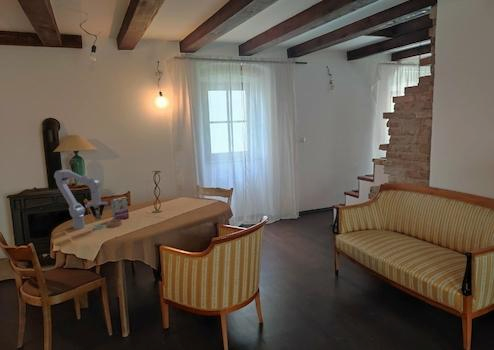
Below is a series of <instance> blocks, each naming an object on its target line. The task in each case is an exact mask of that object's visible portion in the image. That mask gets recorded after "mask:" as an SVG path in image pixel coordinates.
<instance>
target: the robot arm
mask: <svg viewBox="0 0 494 350" xmlns="http://www.w3.org/2000/svg"><path fill="white" fill-rule="evenodd" d="M53 178H54V179H55V182H56V186H57V188H58V189H59V190H60V192H61V194H62V196H63V197H64V199H65V200H66V202H67V204H68V206H69V207H68V211H69V215H70V217H71V218H72V223H73V225H72V226H73V229H74V230H81V229H85V227H86V225H85V212H86V208H87V209H88V208H89V209H90V211H91V213H92V216H93V218H95V210H96V209H95V207H99V210H100V211H101V217H102V216H103V212H104V208H105V206H107V205H109V204H108V201H101V192H100V191H101V189H100V187H101V185H102V184H101V183H102V182H101V181H100V180H99V179H98V178H97V179H94V177H92V178H91V177H89V176H88V175H80V174H78V173H76V172H74V171H72V170H71V169H68V168H65V169H60V170H56V171H55V172H54V175H53ZM70 178H71V179H74V180H77V181H79V183H80V184H82V185H85V186H87V187H88V188H89V190H90V195H91V197H90V198H91V203H88V204H84V205H85V207H84V206H83V205H82V204H81V203H80V202H78V201H77V200H76V198H75V196H74V194H73V193H72V191H71V190H70V187H69V186H68V184H67V181H68V180H69V179H70Z"/></svg>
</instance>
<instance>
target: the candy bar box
mask: <svg viewBox="0 0 494 350" xmlns="http://www.w3.org/2000/svg"><path fill="white" fill-rule="evenodd" d="M110 204H111V213H112V220H125V219H129V218H130V214H129V207H128V197H125V196H122V197H117V198H112V199H110Z"/></svg>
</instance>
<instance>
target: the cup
mask: <svg viewBox="0 0 494 350" xmlns="http://www.w3.org/2000/svg"><path fill="white" fill-rule="evenodd" d="M122 220H123V219H119V220H114V219H112V220H109V221H107V228H108V227H109V228H116V227H120V226H122V225H123V221H122Z"/></svg>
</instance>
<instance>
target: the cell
mask: <svg viewBox="0 0 494 350" xmlns="http://www.w3.org/2000/svg"><path fill="white" fill-rule="evenodd" d="M101 219H102V216H101V211H100V209H95V217H94V220H98V221H99V220H101Z"/></svg>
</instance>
